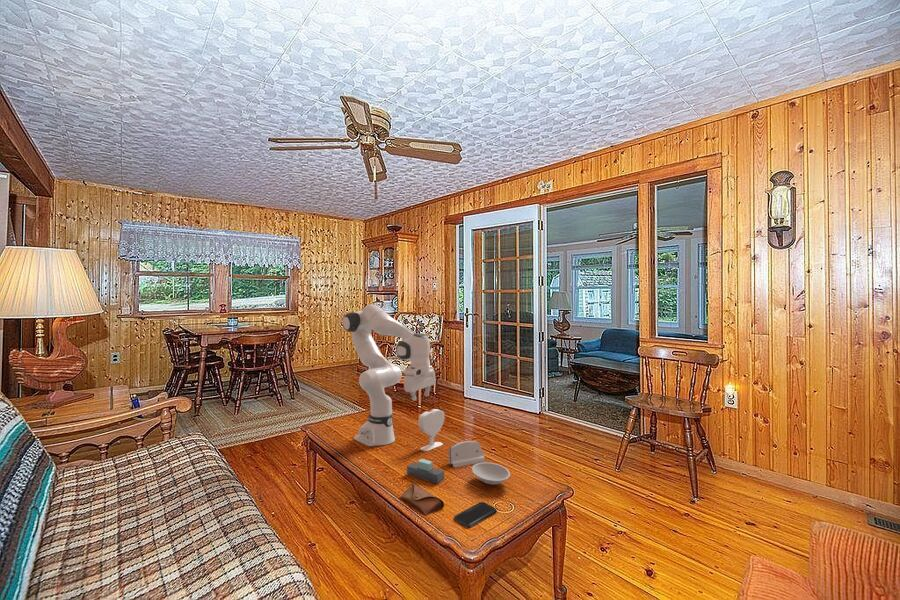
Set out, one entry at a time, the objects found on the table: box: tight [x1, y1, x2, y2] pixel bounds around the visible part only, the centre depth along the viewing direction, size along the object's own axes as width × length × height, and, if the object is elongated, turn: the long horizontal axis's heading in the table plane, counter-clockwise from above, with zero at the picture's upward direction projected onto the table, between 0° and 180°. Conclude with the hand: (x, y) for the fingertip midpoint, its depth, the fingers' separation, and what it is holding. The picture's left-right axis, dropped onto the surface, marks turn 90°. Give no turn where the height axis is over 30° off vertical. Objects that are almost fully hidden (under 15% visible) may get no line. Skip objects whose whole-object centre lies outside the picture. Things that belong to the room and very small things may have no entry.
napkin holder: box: [448, 440, 486, 468], centre depth 184 cm, size 17×5×10 cm, turn 113°
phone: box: [453, 501, 498, 529], centre depth 140 cm, size 8×1×15 cm
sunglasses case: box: [398, 482, 445, 516], centre depth 149 cm, size 18×7×7 cm, turn 44°
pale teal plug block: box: [417, 458, 434, 472], centre depth 169 cm, size 6×3×6 cm, turn 57°
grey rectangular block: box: [406, 461, 445, 485], centre depth 169 cm, size 16×5×4 cm, turn 58°
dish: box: [471, 461, 511, 486], centre depth 163 cm, size 18×14×5 cm
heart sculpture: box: [417, 408, 446, 452], centre depth 202 cm, size 16×5×18 cm, turn 137°
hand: (420, 397), depth 186 cm, fingers open, 8 cm apart
